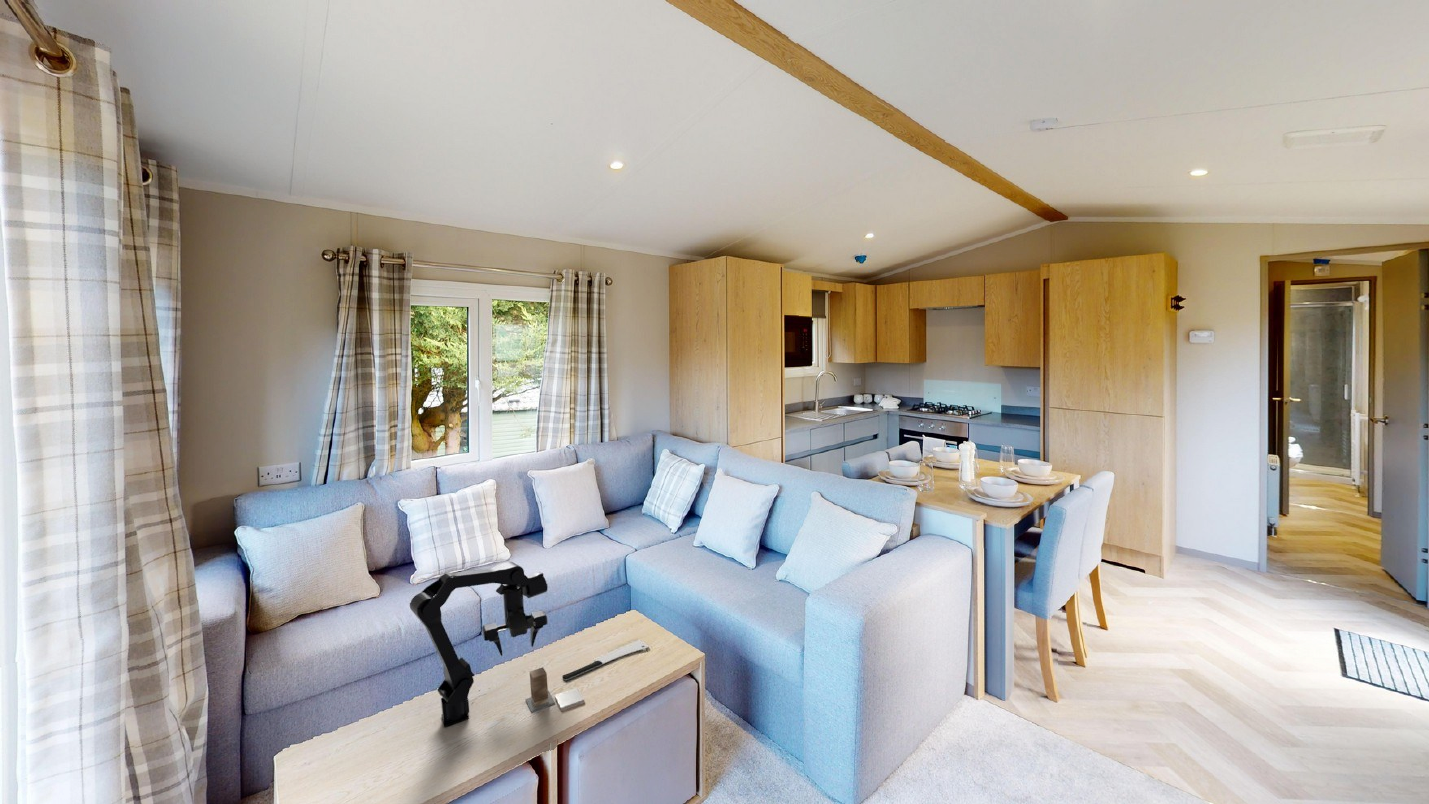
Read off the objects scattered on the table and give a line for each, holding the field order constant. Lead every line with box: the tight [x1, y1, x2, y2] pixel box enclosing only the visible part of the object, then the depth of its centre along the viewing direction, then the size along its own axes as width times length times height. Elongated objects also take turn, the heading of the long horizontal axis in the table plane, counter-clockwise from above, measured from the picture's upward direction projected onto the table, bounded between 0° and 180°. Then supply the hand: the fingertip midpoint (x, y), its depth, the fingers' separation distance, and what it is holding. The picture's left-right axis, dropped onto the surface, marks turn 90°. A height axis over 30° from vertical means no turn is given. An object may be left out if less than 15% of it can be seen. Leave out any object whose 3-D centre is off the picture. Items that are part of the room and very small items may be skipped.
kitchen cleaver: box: [561, 639, 649, 682], centre depth 185 cm, size 31×2×10 cm
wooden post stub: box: [529, 666, 549, 707], centre depth 163 cm, size 4×4×9 cm
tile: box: [554, 687, 585, 712], centre depth 163 cm, size 7×2×7 cm
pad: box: [525, 690, 556, 713], centre depth 163 cm, size 7×7×1 cm
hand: (516, 650), depth 170 cm, fingers open, 9 cm apart
